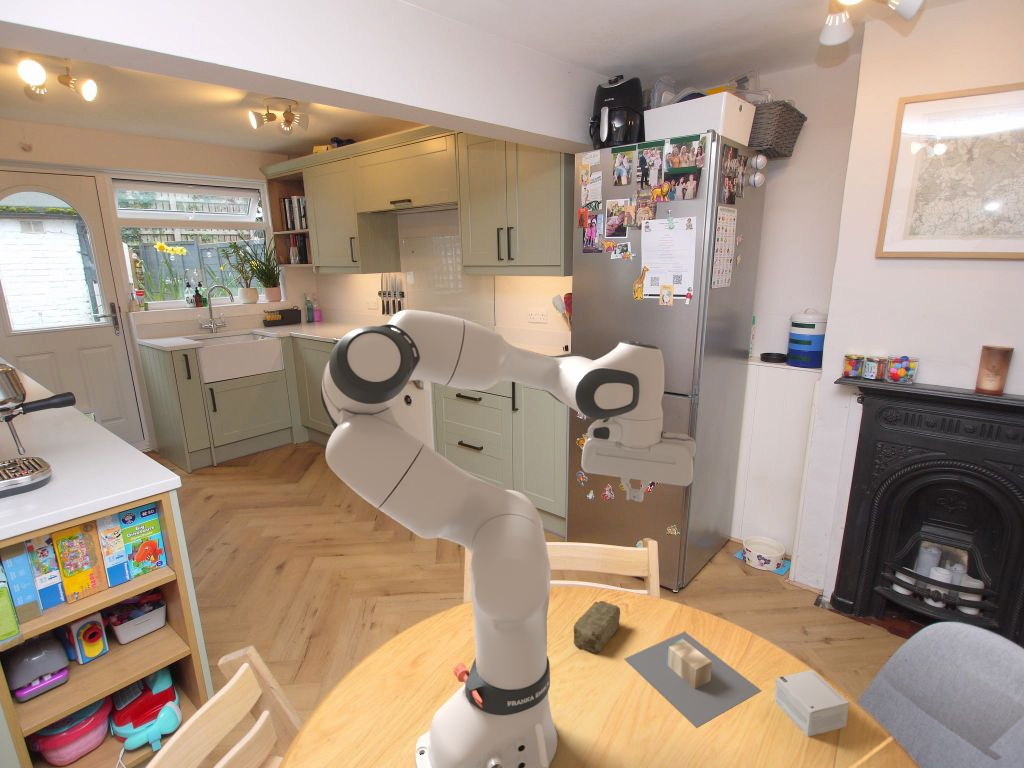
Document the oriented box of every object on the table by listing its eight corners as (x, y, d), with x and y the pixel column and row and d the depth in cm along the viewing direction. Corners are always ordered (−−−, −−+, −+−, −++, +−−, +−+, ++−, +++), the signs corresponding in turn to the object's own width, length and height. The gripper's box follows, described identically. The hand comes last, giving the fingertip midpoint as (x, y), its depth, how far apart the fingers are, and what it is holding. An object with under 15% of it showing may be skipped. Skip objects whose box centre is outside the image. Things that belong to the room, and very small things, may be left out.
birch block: (695, 669, 93) (667, 645, 99) (694, 689, 94) (666, 664, 100) (711, 661, 95) (682, 638, 101) (710, 680, 96) (681, 656, 102)
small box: (847, 729, 86) (851, 702, 85) (807, 740, 84) (810, 713, 83) (810, 693, 93) (813, 668, 92) (772, 702, 91) (774, 677, 90)
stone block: (621, 626, 112) (622, 605, 111) (597, 659, 102) (597, 636, 101) (596, 616, 115) (596, 596, 114) (571, 647, 106) (571, 625, 105)
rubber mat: (696, 729, 86) (696, 727, 86) (623, 660, 102) (623, 658, 101) (761, 692, 93) (761, 690, 93) (684, 633, 109) (684, 631, 109)
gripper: (698, 430, 95) (694, 501, 98) (588, 419, 103) (587, 485, 106) (695, 440, 90) (691, 515, 93) (579, 428, 98) (578, 498, 101)
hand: (634, 499), depth 100 cm, fingers closed
